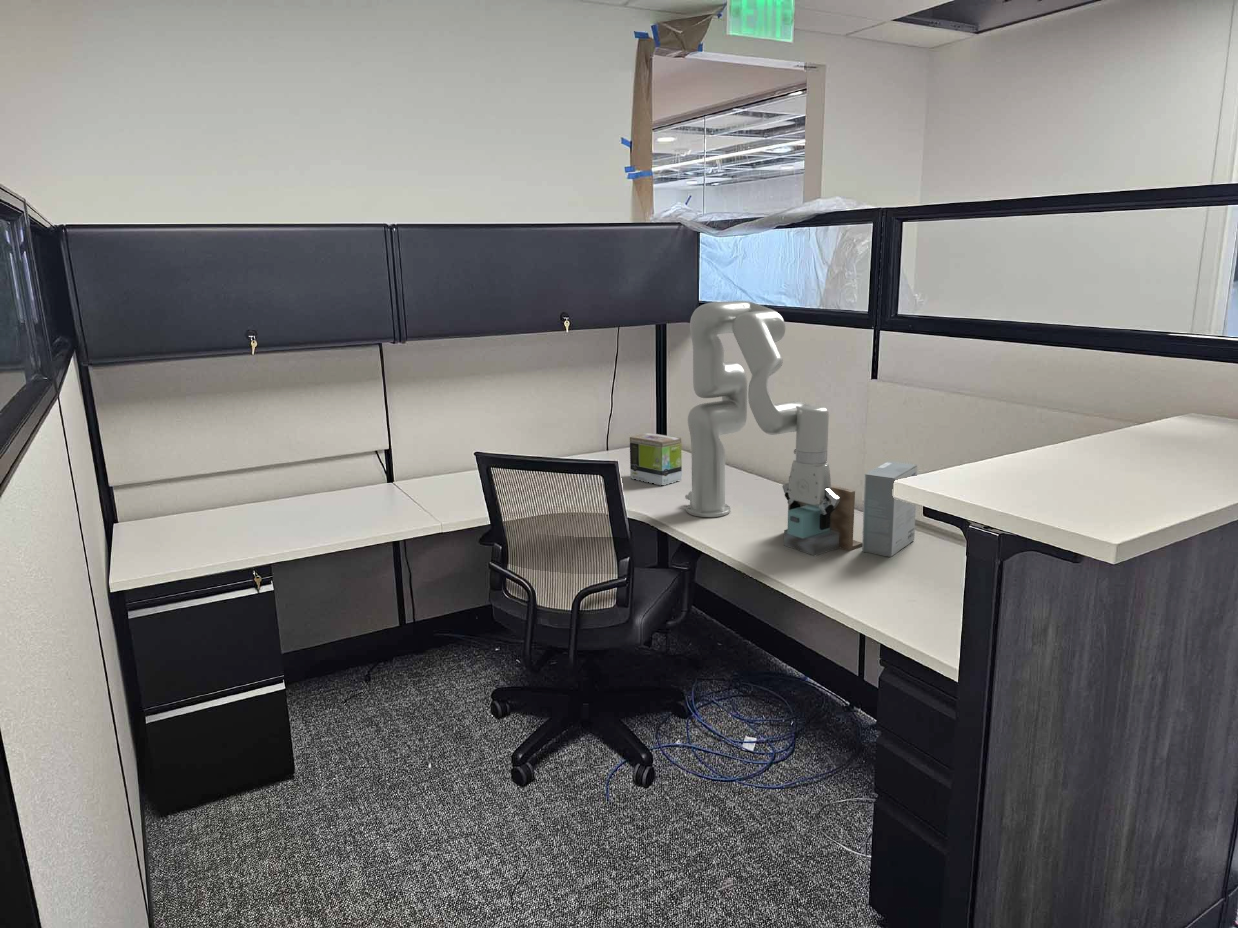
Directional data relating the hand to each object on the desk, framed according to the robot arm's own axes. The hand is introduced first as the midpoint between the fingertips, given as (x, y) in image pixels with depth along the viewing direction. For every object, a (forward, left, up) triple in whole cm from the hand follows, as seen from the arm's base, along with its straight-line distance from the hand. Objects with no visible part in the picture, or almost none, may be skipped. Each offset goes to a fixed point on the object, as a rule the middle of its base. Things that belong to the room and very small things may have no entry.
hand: (809, 523), depth 204 cm
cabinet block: (0, 0, -2) cm, 2 cm away
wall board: (-2, +4, -6) cm, 7 cm away
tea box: (-77, +13, -6) cm, 78 cm away
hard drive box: (+12, +16, -6) cm, 21 cm away
